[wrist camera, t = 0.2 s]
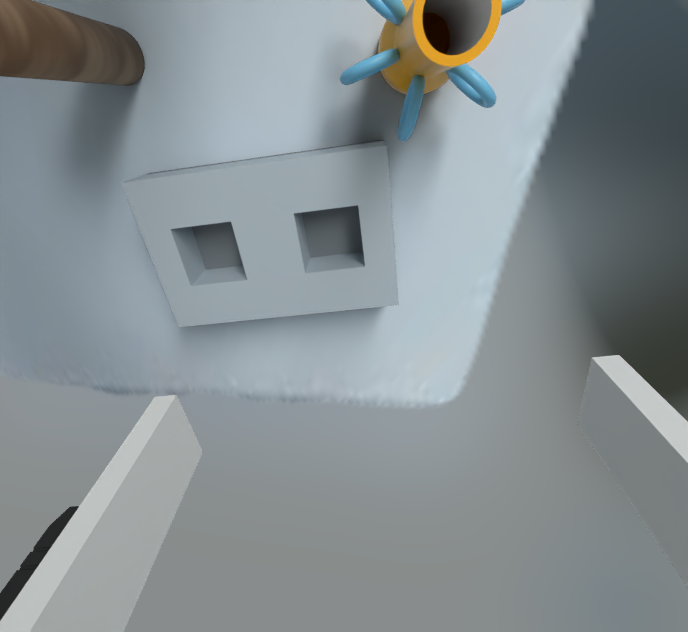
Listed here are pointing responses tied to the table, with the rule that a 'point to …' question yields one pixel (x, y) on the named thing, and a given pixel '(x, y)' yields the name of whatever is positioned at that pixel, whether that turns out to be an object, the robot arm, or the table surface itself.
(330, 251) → the hole block
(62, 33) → the pin
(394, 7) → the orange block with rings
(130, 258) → the table surface
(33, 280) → the table surface
